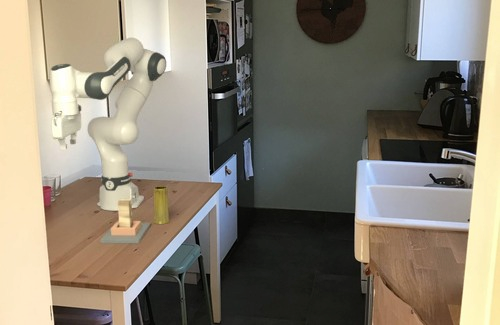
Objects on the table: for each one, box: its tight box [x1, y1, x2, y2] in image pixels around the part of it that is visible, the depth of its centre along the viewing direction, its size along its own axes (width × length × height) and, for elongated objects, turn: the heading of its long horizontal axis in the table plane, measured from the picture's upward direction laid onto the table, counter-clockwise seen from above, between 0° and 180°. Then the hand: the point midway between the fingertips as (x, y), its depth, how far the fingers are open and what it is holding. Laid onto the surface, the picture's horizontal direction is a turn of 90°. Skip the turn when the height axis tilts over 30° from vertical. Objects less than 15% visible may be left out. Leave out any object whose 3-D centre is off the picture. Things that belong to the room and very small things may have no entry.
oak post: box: [117, 199, 134, 228], centre depth 209 cm, size 4×4×12 cm
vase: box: [153, 185, 171, 225], centre depth 221 cm, size 6×6×14 cm
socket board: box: [99, 220, 152, 244], centre depth 210 cm, size 20×14×4 cm
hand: (68, 146), depth 207 cm, fingers open, 8 cm apart
